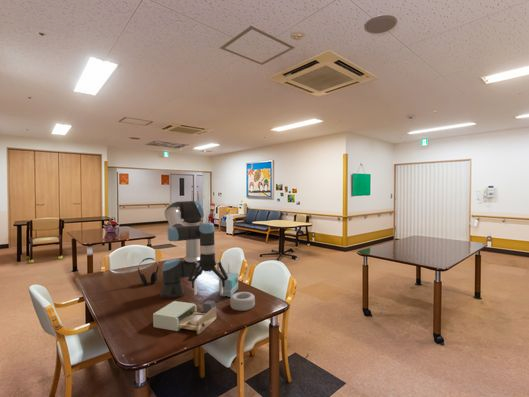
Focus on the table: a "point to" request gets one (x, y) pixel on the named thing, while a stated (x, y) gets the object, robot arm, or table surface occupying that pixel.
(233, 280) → the radio
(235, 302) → the donut shape
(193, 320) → the white smooth rounded piece
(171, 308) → the drawer cabinet
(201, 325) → the wooden drawer
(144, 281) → the headphones
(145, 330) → the table surface
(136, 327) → the table surface
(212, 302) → the block
